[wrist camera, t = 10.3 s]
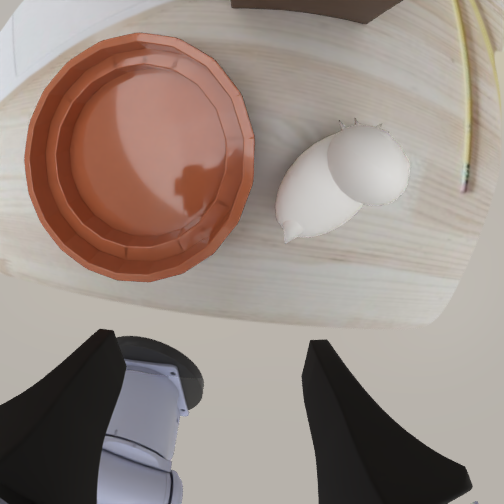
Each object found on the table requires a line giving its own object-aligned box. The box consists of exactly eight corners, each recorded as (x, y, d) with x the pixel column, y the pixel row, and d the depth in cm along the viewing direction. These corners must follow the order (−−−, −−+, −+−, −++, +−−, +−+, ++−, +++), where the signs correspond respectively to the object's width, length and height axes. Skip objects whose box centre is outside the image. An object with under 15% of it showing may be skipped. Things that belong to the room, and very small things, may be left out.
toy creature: (391, 156, 15) (451, 179, 10) (304, 242, 18) (327, 300, 12) (343, 100, 14) (394, 94, 8) (250, 194, 17) (251, 236, 11)
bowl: (249, 253, 18) (249, 286, 15) (74, 249, 18) (47, 275, 15) (256, 44, 13) (258, 23, 9) (58, 72, 12) (23, 69, 9)
